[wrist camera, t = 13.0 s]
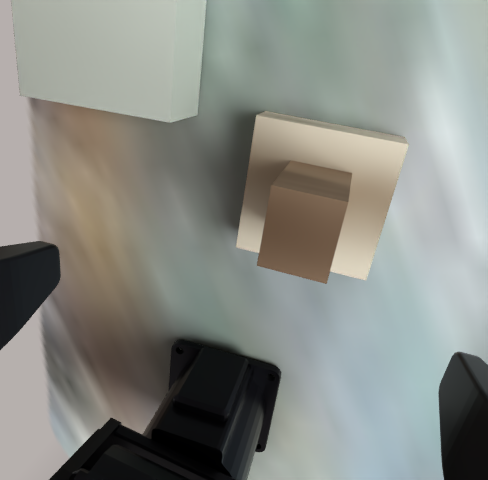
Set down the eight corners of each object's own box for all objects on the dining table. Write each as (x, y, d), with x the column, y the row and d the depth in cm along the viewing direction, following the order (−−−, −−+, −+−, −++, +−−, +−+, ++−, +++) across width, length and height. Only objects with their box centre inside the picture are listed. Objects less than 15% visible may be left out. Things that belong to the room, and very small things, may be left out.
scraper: (366, 261, 20) (366, 333, 14) (246, 231, 21) (206, 288, 16) (404, 136, 17) (421, 167, 12) (266, 110, 18) (226, 128, 13)
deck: (197, 115, 19) (170, 122, 16) (65, 92, 20) (20, 95, 18) (211, -68, 16) (181, -96, 13) (56, -81, 17) (0, -109, 15)
